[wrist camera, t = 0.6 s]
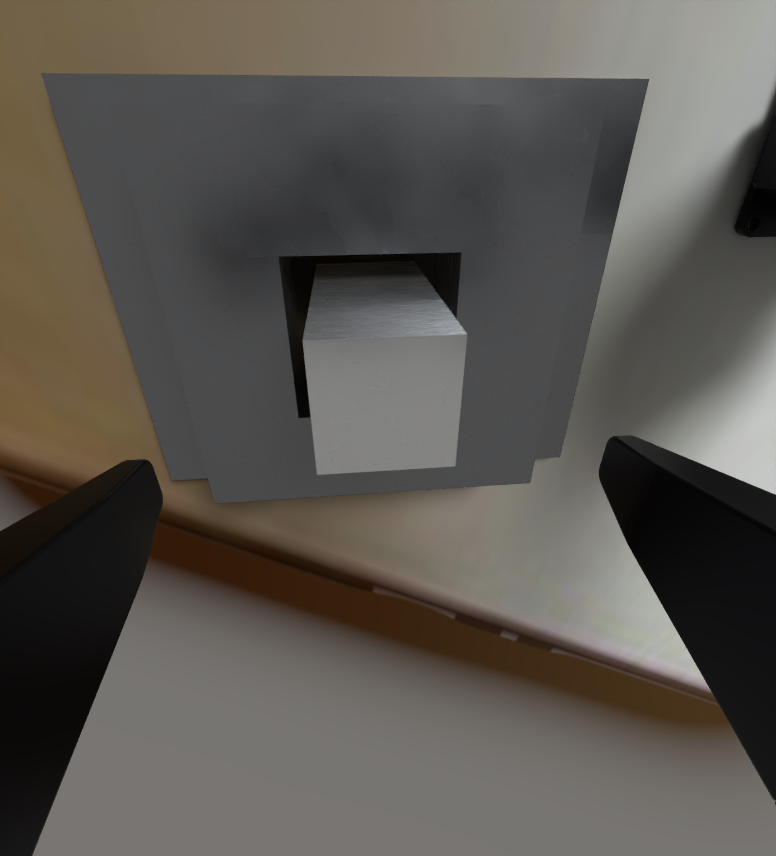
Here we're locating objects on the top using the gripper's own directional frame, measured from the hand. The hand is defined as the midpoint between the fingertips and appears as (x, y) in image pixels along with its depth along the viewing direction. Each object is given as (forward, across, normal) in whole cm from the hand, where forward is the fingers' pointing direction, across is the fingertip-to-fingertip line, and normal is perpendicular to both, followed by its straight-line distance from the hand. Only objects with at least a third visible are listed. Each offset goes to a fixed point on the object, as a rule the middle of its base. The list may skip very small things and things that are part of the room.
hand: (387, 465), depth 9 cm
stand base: (+12, 0, +1) cm, 12 cm away
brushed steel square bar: (+12, 0, +1) cm, 12 cm away
